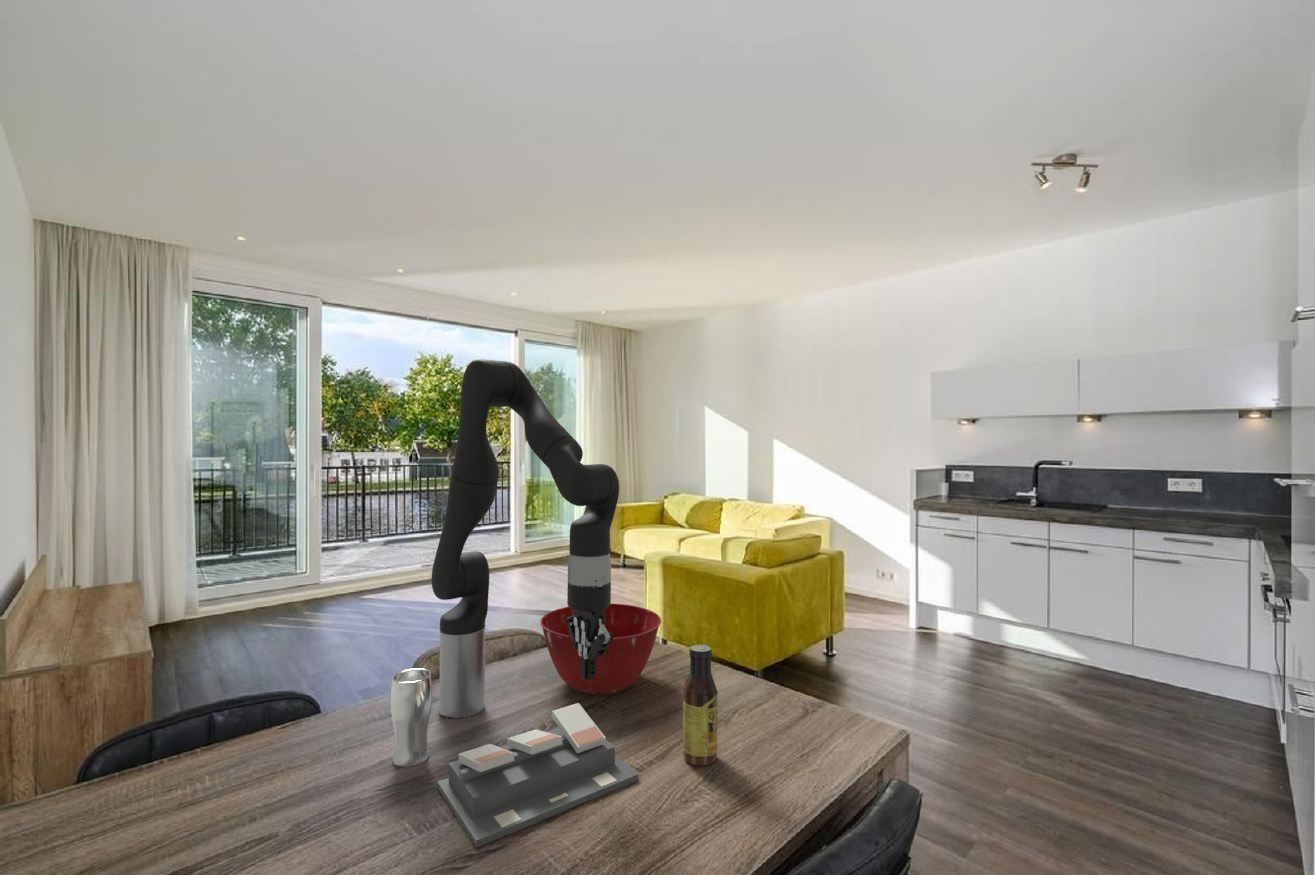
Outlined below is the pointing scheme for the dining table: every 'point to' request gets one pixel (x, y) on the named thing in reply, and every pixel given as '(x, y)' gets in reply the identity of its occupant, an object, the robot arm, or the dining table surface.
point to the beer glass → (411, 715)
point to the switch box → (530, 787)
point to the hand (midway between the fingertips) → (588, 678)
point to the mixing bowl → (620, 659)
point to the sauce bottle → (700, 709)
